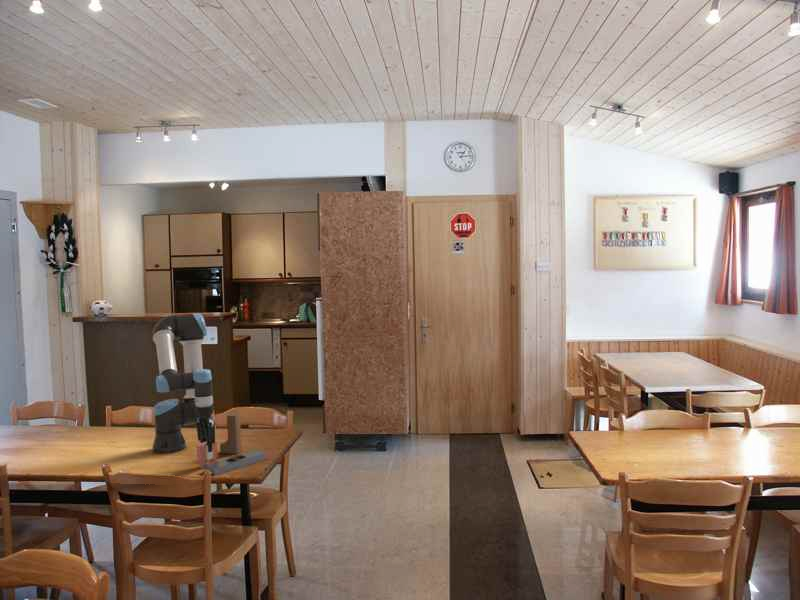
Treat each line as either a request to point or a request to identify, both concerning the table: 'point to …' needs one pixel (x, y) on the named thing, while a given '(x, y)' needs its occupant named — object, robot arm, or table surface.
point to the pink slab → (202, 454)
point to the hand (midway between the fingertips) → (207, 457)
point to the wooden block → (232, 436)
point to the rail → (235, 462)
